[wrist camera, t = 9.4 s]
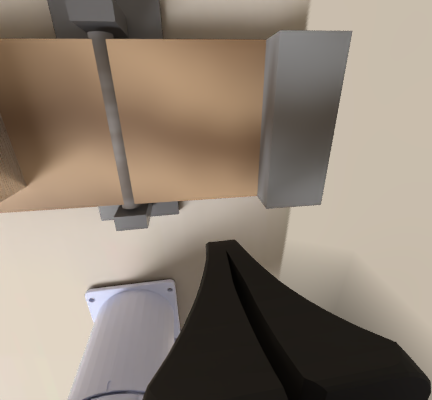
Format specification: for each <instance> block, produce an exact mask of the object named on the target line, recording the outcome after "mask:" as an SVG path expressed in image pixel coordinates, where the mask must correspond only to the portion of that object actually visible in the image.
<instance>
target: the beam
mask: <svg viewBox="0 0 432 400" xmlns="http://www.w3.org/2000/svg"><path fill="white" fill-rule="evenodd" d="M87 35H88V39H0V115H1V117H2V120H3V123H4V125H5V128H6V131H7V134H8V136H9V139H10V142H11V145H12V147H13V150H14V153H15V155H16V158H17V161H18V164H19V166H20V169H21V172H22V175H23V177H24V180H25V183H26V185H27V187H25V188H24V189H22V190H20V191H19V192H17V193H15V194H14V195H12V196H10V197H8V198H7V199H5V200H3V201H2V202H0V213H7V212H22V211H37V210H52V209H67V208H82V207H97V206H112V205H122V208H124V209H134V208H137V207H139V206H140V205H141V204H142V203H157V202H172V201H187V200H202V199H217V198H232V197H247V196H258V198H259V199H260V200H261V202H262V203H263V205H264V206H265V207H266V209H269V208H283V207H296V206H309V205H320V204H321V201H322V195H323V189H324V184H325V179H326V173H327V167H328V162H329V157H330V151H331V146H332V140H333V135H334V129H335V124H336V118H337V113H338V107H339V101H340V96H341V90H342V85H343V80H344V74H345V69H346V63H347V57H348V52H349V47H350V41H351V36H352V31H294V30H280V31H278V32H277V33H275V34H274V35H272V36H271V37H269V38H268V39H266V40H259V39H114V37H113V34H112V33H109V32H103V31H90V32H87Z"/></svg>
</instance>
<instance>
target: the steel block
mask: <svg viewBox="0 0 432 400" xmlns="http://www.w3.org/2000/svg"><path fill="white" fill-rule="evenodd" d="M25 187H27V185H26V183H25V180H24V177H23V175H22V172H21V169H20V166H19V164H18V161H17V158H16V155H15V153H14V150H13V147H12V145H11V142H10V139H9V136H8V134H7V131H6V128H5V125H4V123H3V120H2V117H1V115H0V202H2V201H3V200H5V199H7V198H8V197H10V196H12V195H14V194H15V193H17V192H19V191H20V190H22V189H24V188H25Z"/></svg>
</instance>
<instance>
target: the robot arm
mask: <svg viewBox="0 0 432 400" xmlns="http://www.w3.org/2000/svg"><path fill="white" fill-rule="evenodd" d="M168 288H172V289H168ZM85 298H86V301H87V304H88V307H89V310H90V313H91V316H92V319H93V322H94V325H93V328H92V331H91V334H90V336H89V339H88V342H87V345H86V348H85V351H84V353H83V356H82V359H81V362H80V365H79V368H78V370H77V373H76V376H75V379H74V382H73V384H72V387H71V390H70V393H69V396H68V399H67V400H428V398H429V396H430V393H431V383H430V380H429V379H428V377H427V376H426V375H425V374H424V372H423V371H422V370H421V369H420V368H419V367H418V366H417V365H416V363H415V362H414V361H413V360H412V359H411V358H410V357H409V356H408V354H407V353H406V352H405V351H404V350H403V349H402V348H401V347H400V346H399V345H398V344H397V343H396V342H393V341H392V340H389V339H387V338H384V337H382V336H380V335H377V334H375V333H373V332H370V331H368V330H365V329H363V328H360V327H358V326H356V325H354V324H352V323H350V322H348V321H346V320H344V319H342V318H340V317H338V316H336V315H334V314H332V313H330V312H328V311H326V310H324V309H322V308H321V307H319V306H317V305H316V304H314V303H312V302H310V301H309V300H307V299H305V298H304V297H302V296H301V295H299V294H297V293H296V292H294V291H293V290H291V289H290V288H289V287H287V286H286V285H284V284H283V283H281V282H280V281H279V280H278V279H276V278H275V277H274V276H273V275H271V274H270V273H269V272H268V271H267V270H266V269H264V268H263V267H262V266H261V265H260V264H259V263H258V262H257V261H256V260H255V259H254V258H252V257H251V256H250V255H249V254H248V253H247V252H246V251H245V250H244V249H243V248H242V247H241V245H240V244H239V243H238V242H237V241H236V240H227V241H217V242H208V243H207V244H206V263H205V268H204V273H203V277H202V280H201V284H200V287H199V290H198V293H197V296H196V299H195V301H194V304H193V306H192V309H191V311H190V313H189V315H188V317H187V320H186V322H185V324H184V326H183V328H182V330H181V332H180V323H179V314H178V306H177V297H176V289H175V282H174V281H173V280H171V279H168V280H160V281H152V282H143V283H135V284H127V285H119V286H111V287H103V288H95V289H89V290H87V291H86V293H85ZM92 298H94V299H92Z"/></svg>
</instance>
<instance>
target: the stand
mask: <svg viewBox="0 0 432 400" xmlns="http://www.w3.org/2000/svg"><path fill="white" fill-rule="evenodd" d="M47 1H48V5H49V9H50V14H51V18H52V22H53V26H54V30H55V34H56V38H57V39H88V35H87V32H90V31H103V32H109V33H112V34H113V37H114V39H163V35H162V24H161V13H160V3H159V0H47ZM98 207H99V211H100V215H101V220H102V221H104V220H114V222H115V227H116V231H122V230H133V229H144V228H148V226H149V221H150V216H162V215H173V214H179V207H178V201H172V202H157V203H142V204H141V205H140V206H139V207H137V208H134V209H124V208H122V205H112V206H98Z"/></svg>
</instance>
